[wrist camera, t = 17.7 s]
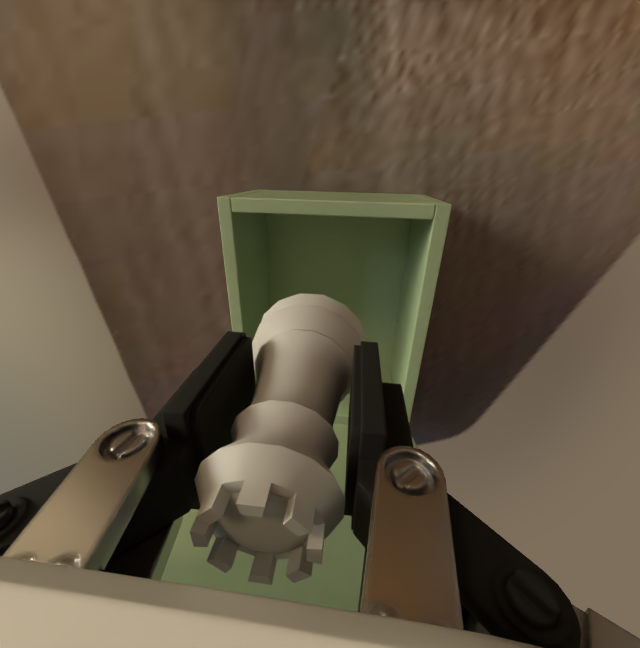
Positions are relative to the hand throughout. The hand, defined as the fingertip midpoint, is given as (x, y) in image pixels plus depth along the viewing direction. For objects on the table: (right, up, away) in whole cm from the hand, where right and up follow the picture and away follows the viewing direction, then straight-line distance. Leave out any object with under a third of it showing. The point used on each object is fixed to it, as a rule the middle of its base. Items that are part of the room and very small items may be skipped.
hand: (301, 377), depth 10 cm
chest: (+2, +5, +17) cm, 17 cm away
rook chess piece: (0, +1, +3) cm, 3 cm away
